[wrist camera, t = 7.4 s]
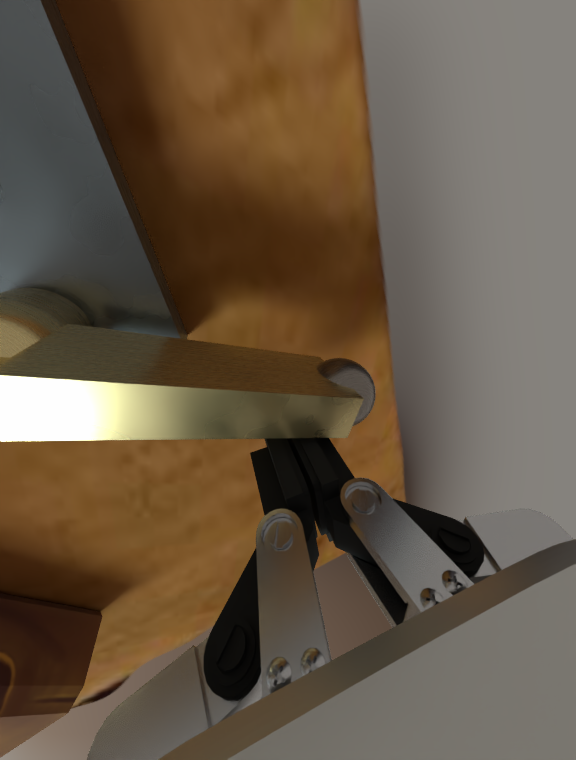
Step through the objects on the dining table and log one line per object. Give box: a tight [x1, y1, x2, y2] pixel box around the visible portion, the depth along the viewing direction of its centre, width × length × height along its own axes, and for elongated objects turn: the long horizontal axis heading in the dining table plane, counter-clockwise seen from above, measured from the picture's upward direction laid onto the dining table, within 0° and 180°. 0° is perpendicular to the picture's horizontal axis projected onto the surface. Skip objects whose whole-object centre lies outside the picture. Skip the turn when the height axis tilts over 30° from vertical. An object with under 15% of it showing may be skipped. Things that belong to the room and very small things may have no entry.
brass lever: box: [0, 288, 375, 441], centre depth 8 cm, size 13×3×5 cm, turn 76°
